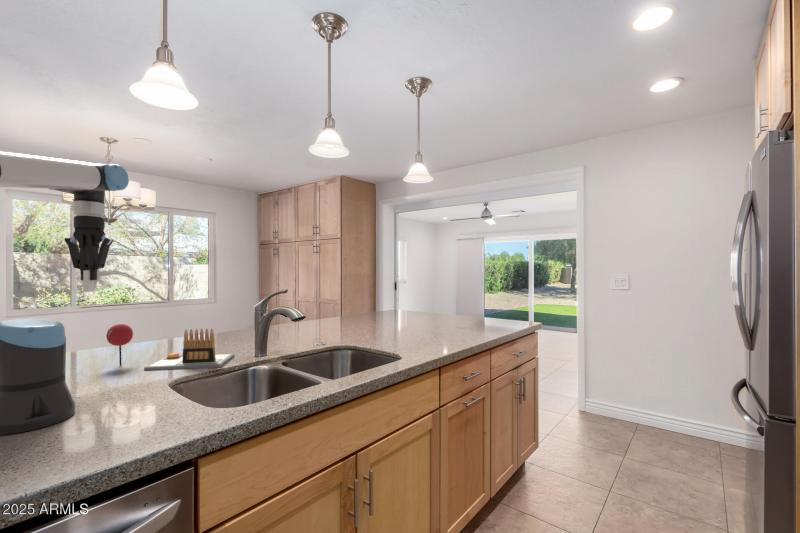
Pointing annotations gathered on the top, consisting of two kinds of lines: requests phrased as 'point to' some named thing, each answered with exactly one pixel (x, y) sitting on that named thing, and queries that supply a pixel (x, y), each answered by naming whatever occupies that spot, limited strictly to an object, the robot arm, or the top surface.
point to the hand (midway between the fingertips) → (88, 290)
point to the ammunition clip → (198, 347)
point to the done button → (173, 355)
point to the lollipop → (119, 336)
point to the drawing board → (177, 363)
